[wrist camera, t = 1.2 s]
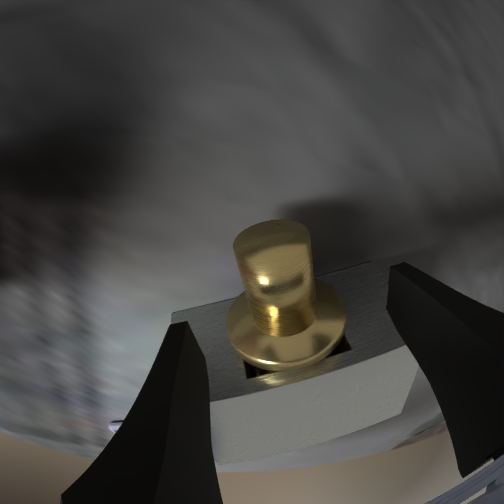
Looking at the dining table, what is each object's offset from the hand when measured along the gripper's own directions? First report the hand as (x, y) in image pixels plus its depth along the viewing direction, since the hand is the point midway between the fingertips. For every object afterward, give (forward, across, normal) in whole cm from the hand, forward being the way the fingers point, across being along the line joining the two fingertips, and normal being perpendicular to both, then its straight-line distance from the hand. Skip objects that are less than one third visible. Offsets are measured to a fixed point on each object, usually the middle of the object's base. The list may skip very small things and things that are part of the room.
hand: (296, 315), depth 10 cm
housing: (+6, 0, +8) cm, 10 cm away
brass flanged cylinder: (+6, 0, +3) cm, 7 cm away
